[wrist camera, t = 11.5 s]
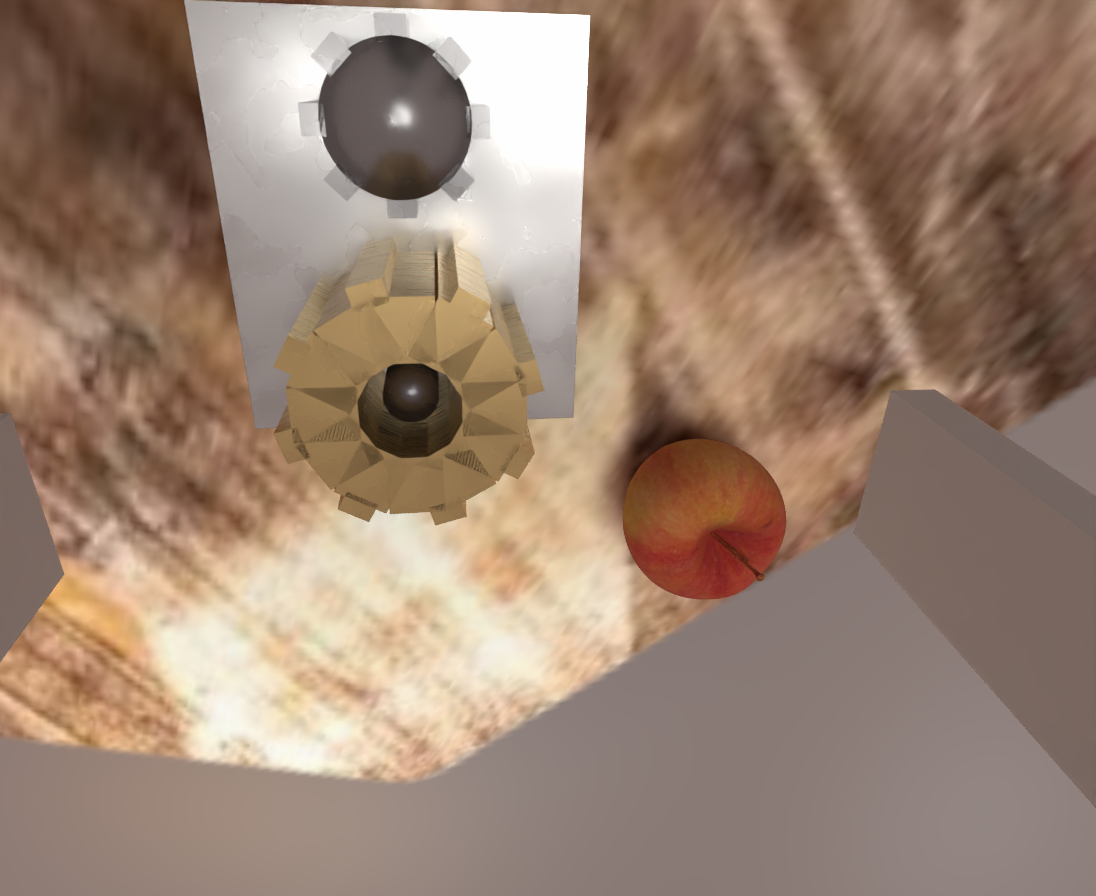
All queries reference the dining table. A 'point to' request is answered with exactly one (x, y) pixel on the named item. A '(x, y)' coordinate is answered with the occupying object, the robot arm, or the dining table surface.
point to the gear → (404, 338)
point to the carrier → (395, 167)
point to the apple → (703, 519)
